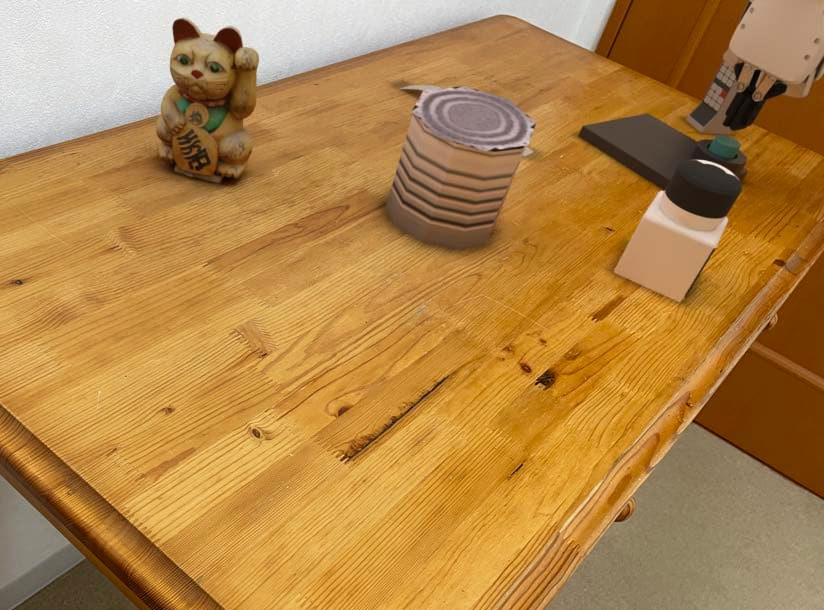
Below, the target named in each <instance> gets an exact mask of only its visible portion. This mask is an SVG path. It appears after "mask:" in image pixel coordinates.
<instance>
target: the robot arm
mask: <svg viewBox="0 0 824 610" xmlns="http://www.w3.org/2000/svg"><path fill="white" fill-rule="evenodd" d="M752 1H753V3H752V4H751V6H750V7H749V9H748V10H747V12H746V14H745V15H744V17H743V18H742V20H741V22H740V24H739V25H738V24H737V25H738V27H737V26H736V28H737V29H736V28H735V30H736V31H735V30H734V32H735V33H734V32H733V34H732V36H731V39H730V41H729V44H728V48H727V50H726V51H725V52H724V53H723V55H722V61H723V60H724V61H725V62H726V63H727V64H728V65H729V66H730V67H731V68H733V69H734V72H735V76H736V81H737V84H736V87H735V88H736V91H737V93H736V95H735V97H734V98H733V100H732V102H731V104H730V105H729V107H728V109H727V111H726V113H725V115H726V118H725V120H724V122H723V124H722V125H724V126H725V127H730V129H731V130H732V132H736V131H737V132H738V131H741V130H745V129H747V128H748V127H750V126H752V124H754V122H755V121H756V119H757V117H758V116H759V114H760V112H761V110H762V109H763V107H764V105H765V104H766V102H767V101H768V100H772V99H773V98H776V97H779V96H785V97H789V98H793V99H802V98H806V97H807V96H808V95H809V92H810V89H811V87H812V84H813V82H817V81H819V80H820V79H821V77H822V76H823V75H824V0H752ZM763 72H765V74H767V75H766V76H765V78H764V79H763V80H762V79H761V76H762V74H763ZM760 79H761V80H762V82H761V81H760ZM759 81H760V83H759ZM758 83H759V84H758Z"/></svg>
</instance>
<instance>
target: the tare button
mask: <svg viewBox="0 0 824 610" xmlns="http://www.w3.org/2000/svg"><path fill="white" fill-rule="evenodd" d="M712 140H713V141H712V143H711V145H710V147H709V148H708V149H709V150H710V151H711V152H712V153H714V154H716V155H718V156H721V157H724V158H727V159H734V157H735V156H736V154H737V152H738V150H740V149H741V147H742V144H741V142H739V141H738V140H737V139H736V138H734V137H732V136H730V135H729V136H728V135H725V134H715V136H714V138H713V139H712Z"/></svg>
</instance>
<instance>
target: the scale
mask: <svg viewBox="0 0 824 610" xmlns="http://www.w3.org/2000/svg"><path fill="white" fill-rule="evenodd" d="M577 136H578V138H580V139H582V140H583V141H584V142H587V143H588V144H589V145H591V146H593V147H595V148H596V149H598V150H599V151H601V152H602V153H604V154H606V155H607V156H609V157H610V158H611V159H613V160H615V161H616V162H618V163H619V164H621V165H622V166H624V167H626V168H628V169H629V170H630V171H632V172H634V173H636V174H638V175H639V176H641V177H642V178H644V179H645V180H647V181H648V182H650V183H652V184H653V185H655V186H656V187H658V188H660V189H661V190H662V191H665V189H666V187H667V186H668V184H669V182H670V180H671V178H672V176H673V174H674V173H675V171H676V169H677V167H678V165H679V164H680V163H682V162H684V161H687V160H705V161H709V162H713V163H716V164H718V165H721V166H723V167H725V168H726V169H728V170H729V171H731V172H732V173H733V174H734V175H735V176H736V177H737V178H738V179H739V180H740V182H741V183H742V182H743V181H744V180H745V178H746V176H747V175H748V173H749V170H748V169H746V168H745V166H746V164H747V161H748V157H747V156H746V155H745V153H744V152H742V150H740V149H739V150H738V152H737V154H736V156H735V157H734V159H727V158H724V157H721V156H718V155H716V154H714V153H712V152H711V151H710V150H709V149H708V148H709V147H710V145H711V143H712V141H713V139H709V138H703V139H699V140H698V141H697V140H695V139H693V138H692V137H690V136H688V135H686V134H685V133H683V132H681V131H679V130H678V129H676V128H674V127H673V126H671V125H669V124H667V123H666V122H665V121H662V120H661V119H659V118H658V117H655V116H654V115H652V114H650V113H649V112H647V113H640V114H635V115H630V116H626V117H621V118H615V119H609V120H605V121H600V122H595V123H589V124H585V125H582V126H581V129H580V131H579V133H578V135H577Z"/></svg>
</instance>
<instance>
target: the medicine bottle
mask: <svg viewBox="0 0 824 610" xmlns="http://www.w3.org/2000/svg"><path fill="white" fill-rule="evenodd" d="M742 191H743V185H742V182H740V180H739V179H738V178H737V177H736V176H735V175H734V174H733V173H732V172H731V171H729V170H728V169H726V168H725V167H723V166H721V165H718V164H716V163H713V162H709V161H705V160H687V161H684V162H682V163H680V164H679V165H678V167H677V169H676V171H675V173H674V174H673V176H672V178H671V180H670V182H669V184H668V186H667V187H666V189H665V191H664V190H660V191H658V192H657V193H656V195H655V197H654V198H653V200H652V201H651V203H650V204H649V206H648V208H647V209H646V211H645V212H644V213H643V215H642V217H641V219H640V221H639V223H638V225H637V227H636V229H635V230H634V233H633V234H632V235H631V238H630V240H629V242H628V243H627V245H626V247H625V249H624V251H623V253H622V255H621V257H620V259H619V261H618V262H617V265H616V266H615V268H614V270H613V272H614V274H616V275H618V276H620V277H623V278H625V279H626V280H629V281H631V282H634V283H636V284H638V285H640V286H642V287H645V288H647V289H649V290H651V291H653V292H656V293H658V294H660V295H663V296H665V297H667V298H669V299H672V300H674V301H676V302H678V303H683V302H684V301H685V299H686V297H687V296H688V294H689V293H690V291H691V290H692V288H693V286H694V285H695V283H696V281H697V280H698V278H699V276H701V273H702V272H703V270H704V268H706V266H707V263H708V262H709V260H710V258H711V257H712V256H713V254H714V252H715V251H716V249H717V247H718V245H719V244H720V240H721V239H722V236H723V234H724V231H725V229H726V227H727V225H728V222H729V218H728V217H727V216H728V214H729V213H730V211H731V209H732V208H733V206H734V205H735V203H736V201H737V200H738V198H739V196H740V194H741V192H742Z"/></svg>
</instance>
